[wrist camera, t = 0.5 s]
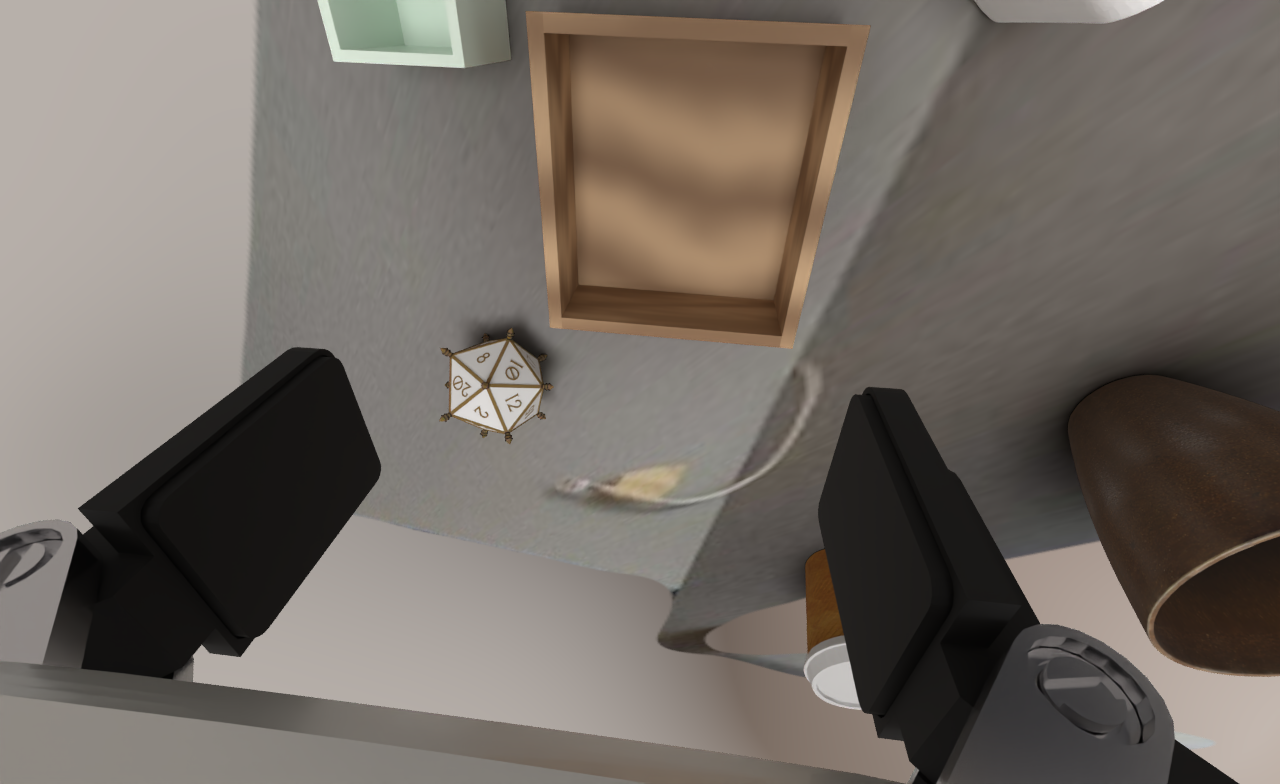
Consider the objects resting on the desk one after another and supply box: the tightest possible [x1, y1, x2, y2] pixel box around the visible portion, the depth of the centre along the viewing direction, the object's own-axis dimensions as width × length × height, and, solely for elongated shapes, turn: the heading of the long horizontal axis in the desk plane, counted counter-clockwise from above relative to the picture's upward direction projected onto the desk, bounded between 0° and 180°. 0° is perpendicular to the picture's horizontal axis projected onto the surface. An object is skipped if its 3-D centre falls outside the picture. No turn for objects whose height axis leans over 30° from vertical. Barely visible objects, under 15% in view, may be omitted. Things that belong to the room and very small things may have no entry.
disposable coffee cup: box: [804, 549, 862, 710], centre depth 48 cm, size 10×10×12 cm
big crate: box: [526, 11, 871, 349], centre depth 30 cm, size 17×16×6 cm
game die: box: [439, 328, 553, 444], centre depth 39 cm, size 9×8×10 cm
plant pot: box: [1068, 375, 1280, 677], centre depth 33 cm, size 15×15×16 cm
